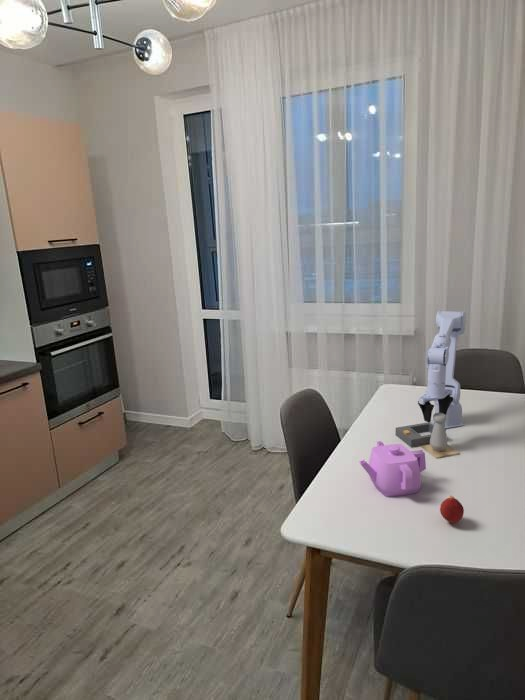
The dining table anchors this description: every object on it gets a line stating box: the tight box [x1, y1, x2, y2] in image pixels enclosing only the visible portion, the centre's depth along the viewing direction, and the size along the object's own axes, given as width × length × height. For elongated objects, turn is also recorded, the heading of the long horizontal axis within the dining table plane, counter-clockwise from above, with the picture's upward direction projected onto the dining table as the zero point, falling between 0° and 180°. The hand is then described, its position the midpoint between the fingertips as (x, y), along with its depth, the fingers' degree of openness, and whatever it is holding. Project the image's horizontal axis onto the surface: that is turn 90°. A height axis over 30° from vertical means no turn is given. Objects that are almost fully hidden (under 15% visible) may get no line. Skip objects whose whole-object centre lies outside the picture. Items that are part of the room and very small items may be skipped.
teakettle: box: [359, 440, 427, 498], centre depth 149 cm, size 17×17×12 cm
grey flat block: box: [395, 422, 447, 448], centre depth 179 cm, size 14×11×4 cm
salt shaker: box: [429, 412, 448, 452], centre depth 168 cm, size 6×6×13 cm
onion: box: [439, 494, 465, 524], centre depth 129 cm, size 6×6×8 cm
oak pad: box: [421, 443, 461, 459], centre depth 169 cm, size 9×9×1 cm
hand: (434, 418), depth 170 cm, fingers open, 7 cm apart
